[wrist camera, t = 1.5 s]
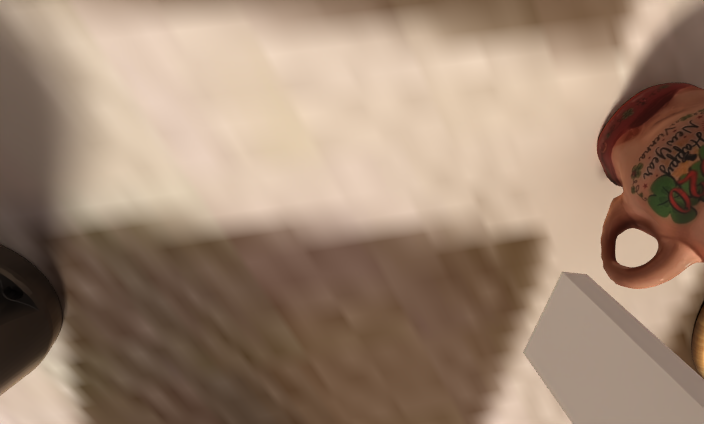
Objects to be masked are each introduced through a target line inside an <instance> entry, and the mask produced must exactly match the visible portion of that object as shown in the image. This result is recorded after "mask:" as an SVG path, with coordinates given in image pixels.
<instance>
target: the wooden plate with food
mask: <svg viewBox="0 0 704 424" xmlns="http://www.w3.org/2000/svg"><path fill="white" fill-rule="evenodd" d="M692 357H693V361H694V364H695V367H696V369H697V371H698V372H699V374H700V375H701V376H702V378H703V379H704V305H703V307H702V309H701V311H700V314H699V316H698V319H697V321H696V324H695V327H694V332H693V336H692Z"/></svg>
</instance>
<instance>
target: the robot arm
mask: <svg viewBox="0 0 704 424" xmlns="http://www.w3.org/2000/svg"><path fill="white" fill-rule="evenodd" d="M61 324H62V311H61V306H60V302H59V299H58V297H57V295H56V292H55V291H54V289H53V287H52V286H51V284H50V283H49V281H48V280H47V279H46V278H45V276H44V275H43V274H42V273H41V272H40V271H39V270H38V269H37V268H36V267H35V266H33V265H32V264H31V263H30V262H28V261H27V260H26V259H24V258H23V257H21V256H20V255H18V254H17V253H15V252H13V251H12V250H10V249H8V248H6V247H4V246H2V245H0V395H2V394H3V393H4V392H6V391H7V390H8V389H9V388H11V387H12V386H13V385H15V384H16V383H17V382H18V381H20V380H21V379H22V378H23V377H25V376H26V375H28V374H29V373H30V372H31V371H33V370H34V369H35V368H36V367H37V366H38V365H39V364H40V363H41V362H42V360H43V359H44V358H45V356H46V355H47V353H48V352H49V350H50V349H51V347H52V345H53V344H54V342H55V341H56V339H57V337H58V335H59V332H60V329H61ZM523 353H524V354H525V356H526V357H527V359H528V360H529V362H530V363H531V365H532V366H533V367H534V369H535V370H536V372H537V373H538V375H539V376H540V377H541V379H542V380H543V382H544V383H545V385H546V386H547V388H548V389H549V390H550V392H551V393H552V395H553V396H554V398H555V399H556V400H557V402H558V403H559V405H560V406H561V408H562V409H563V411H564V412H565V413H566V415H567V416H568V418H569V419H570V421H571V422H572V423H573V424H704V379H703V378H702V377H701V376H699V375H698V374H697V373H696V372H695V371H694V370H693V369H692V368H691V367H689V366H688V365H687V364H686V363H685V362H684V361H683V360H682V359H681V358H679V357H678V356H677V355H676V354H675V353H674V352H673V351H672V350H670V349H669V348H668V347H667V346H666V345H665V344H664V343H663V342H662V341H660V340H659V339H658V338H657V337H656V336H655V335H654V334H653V333H652V332H650V331H649V330H648V329H647V328H646V327H645V326H644V325H643V324H641V323H640V322H639V321H638V320H637V319H636V318H635V317H634V316H633V315H631V314H630V313H629V312H628V311H627V310H626V309H625V308H624V307H623V306H621V305H620V304H619V303H618V302H617V301H616V300H615V299H614V298H613V297H611V296H610V295H609V294H608V293H607V292H606V291H605V290H604V289H602V288H601V287H600V286H599V285H598V284H597V283H596V282H595V281H594V280H592V279H591V278H590V277H589V276H588V275H587V274H578V273H568V272H562V273H561V275H560V277H559V279H558V281H557V283H556V285H555V287H554V290H553V292H552V294H551V296H550V298H549V300H548V302H547V304H546V306H545V308H544V310H543V312H542V314H541V316H540V318H539V321H538V323H537V325H536V327H535V329H534V331H533V333H532V335H531V337H530V339H529V341H528V343H527V345H526V347H525V349H524V352H523Z"/></svg>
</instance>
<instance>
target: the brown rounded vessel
mask: <svg viewBox="0 0 704 424" xmlns="http://www.w3.org/2000/svg"><path fill="white" fill-rule="evenodd" d="M597 154H598V157H599V160H600V162H601V164H602V167H603V169H604V172H605V174H606V176H607V177H608V178H609V180H610V181H611V182H613V183H614V184H615V185H618V186H621V187H623V193H622V194H621V195H620V196H618V197H616V198H614V199H613V201H612V203H611V205H610V208H609V211H608V214H607V216H606V219H605V222H604V225H603V231H602V236H601V249H602V253H601V258H602V260H603V267H604V269H605V271H606V273H607V274H608V276H609V277H610V279H611V280H613V281H614V282H615V283H616V284H618V285H620V286H624V287H628V288H633V289H642V288H649V287H654V286H657V285H660V284H662V283H664V282H667V281H669V280H671V279H672V278H674V277H675V276H677V275H678V274H680V273H681V272H682V271H684V270H685V269H686V268H687V267H689V266H690V265H692V264H694V263H696V262H704V89H701V88H698V87H696V86H694V85H691V84H687V83H666V84H660V85H656V86H653V87H650V88H647V89H645V90H643V91H641V92H639V93H638V94H636V95H635V96H633V97H632V98H631V99H630V100H628V101H627V102H626V103H625V104H624V105H623V106H621V107H620V108H619V109H618V110H617V111H616V113H615V114H614V115H613V116H612V118H611V119H610V120H609V121H608V123H607V124H606V126H605V127H604V129H603V131H602V132H601V134H600V136H599V139H598V143H597ZM629 228H636V229H639V230H641V231H644V232H646V233H647V234H649V235H651V236H653V237H655V238H656V239H657V241H658V251H657V253H656V255H655V256H654V257H653V258H652V259H651V260H650V261H649V262H647V263H646V264H644V265H641V266H639V267H632V268H630V267H626V266H622V265H620V264H619V263H618V262H617V261H616V258H615V243H616V238H617V236H618V235H619V234H621V233H622V232H623V231H625V230H627V229H629Z"/></svg>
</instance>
